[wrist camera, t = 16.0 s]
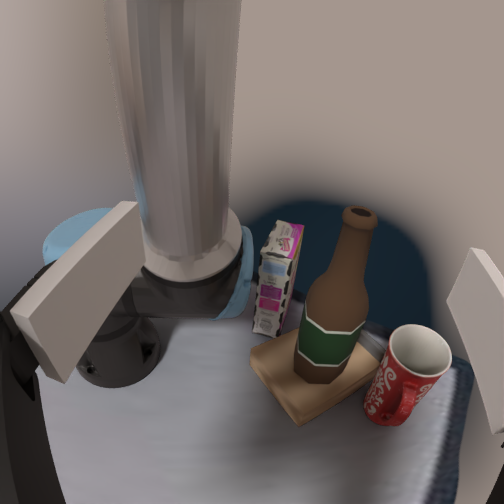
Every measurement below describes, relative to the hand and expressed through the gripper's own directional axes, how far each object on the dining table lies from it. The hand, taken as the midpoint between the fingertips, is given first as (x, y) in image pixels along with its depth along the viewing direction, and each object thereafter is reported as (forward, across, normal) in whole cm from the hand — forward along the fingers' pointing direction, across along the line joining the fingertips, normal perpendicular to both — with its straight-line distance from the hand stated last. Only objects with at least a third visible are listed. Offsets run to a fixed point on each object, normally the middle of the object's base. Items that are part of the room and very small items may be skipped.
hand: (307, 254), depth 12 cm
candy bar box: (+32, -1, -34) cm, 47 cm away
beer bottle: (+19, +6, -30) cm, 36 cm away
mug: (+13, +17, -34) cm, 40 cm away
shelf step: (+20, +6, -34) cm, 40 cm away
